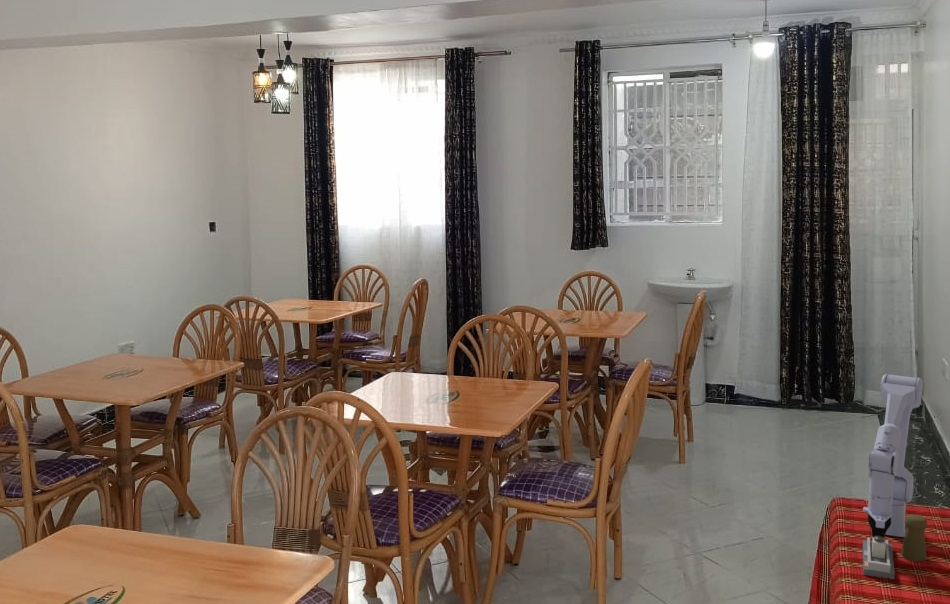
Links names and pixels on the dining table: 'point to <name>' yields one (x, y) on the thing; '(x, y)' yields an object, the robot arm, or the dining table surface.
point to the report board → (877, 561)
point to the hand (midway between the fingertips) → (877, 543)
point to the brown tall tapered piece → (914, 538)
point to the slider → (878, 547)
